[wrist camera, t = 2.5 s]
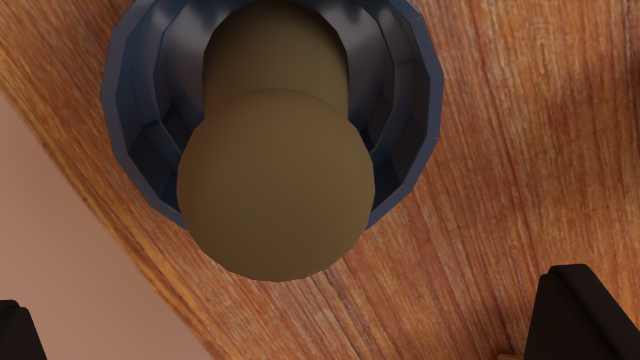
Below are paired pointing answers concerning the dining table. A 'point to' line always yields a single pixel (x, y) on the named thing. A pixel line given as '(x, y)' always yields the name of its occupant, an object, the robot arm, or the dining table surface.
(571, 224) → the dining table surface
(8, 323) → the robot arm
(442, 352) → the dining table surface
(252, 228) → the pepper shaker
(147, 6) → the blue bowl
